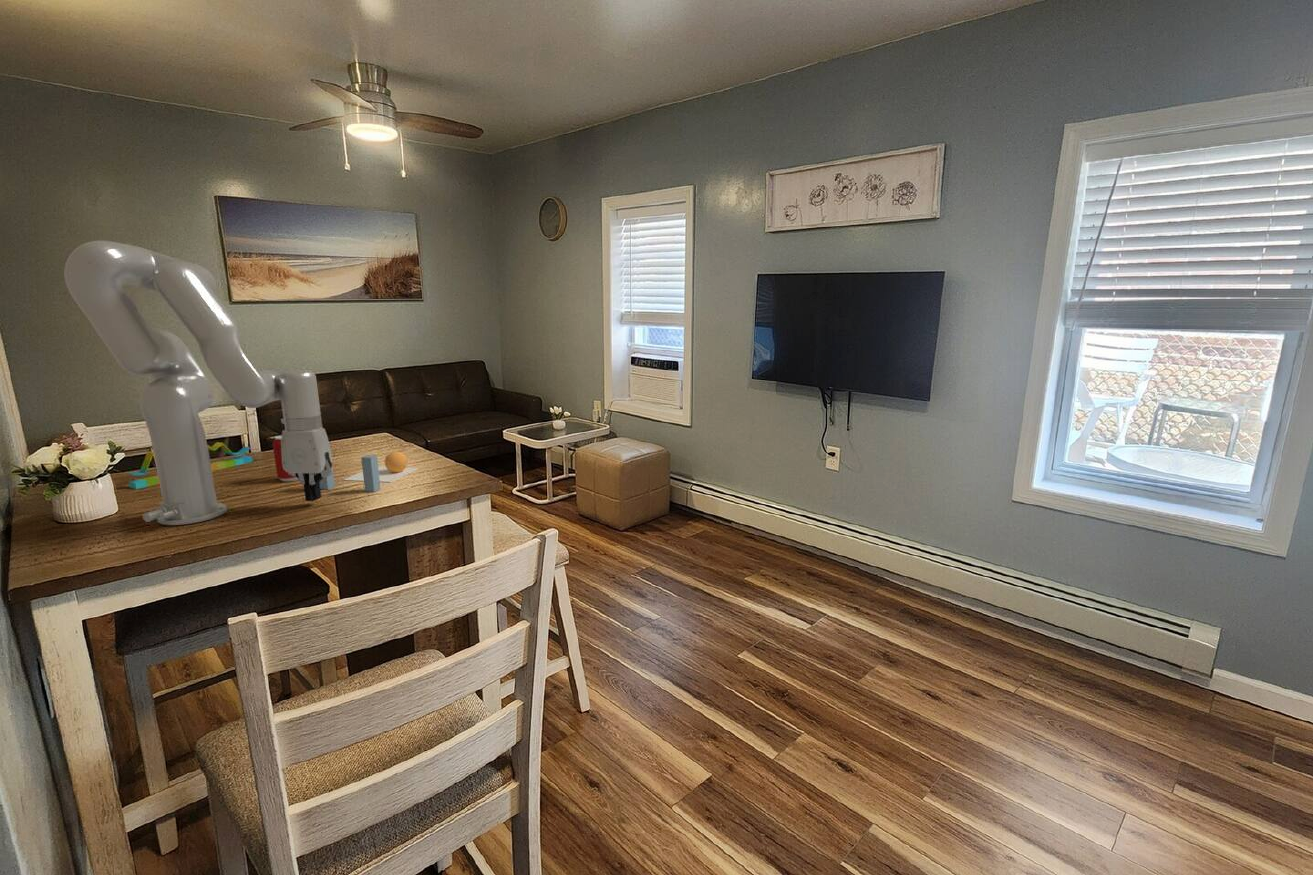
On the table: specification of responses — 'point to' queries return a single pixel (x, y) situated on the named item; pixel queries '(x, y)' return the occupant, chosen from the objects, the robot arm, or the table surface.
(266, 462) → the table surface
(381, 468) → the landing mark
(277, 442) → the beverage can
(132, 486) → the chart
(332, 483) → the left post
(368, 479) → the right post
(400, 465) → the ball
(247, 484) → the table surface
